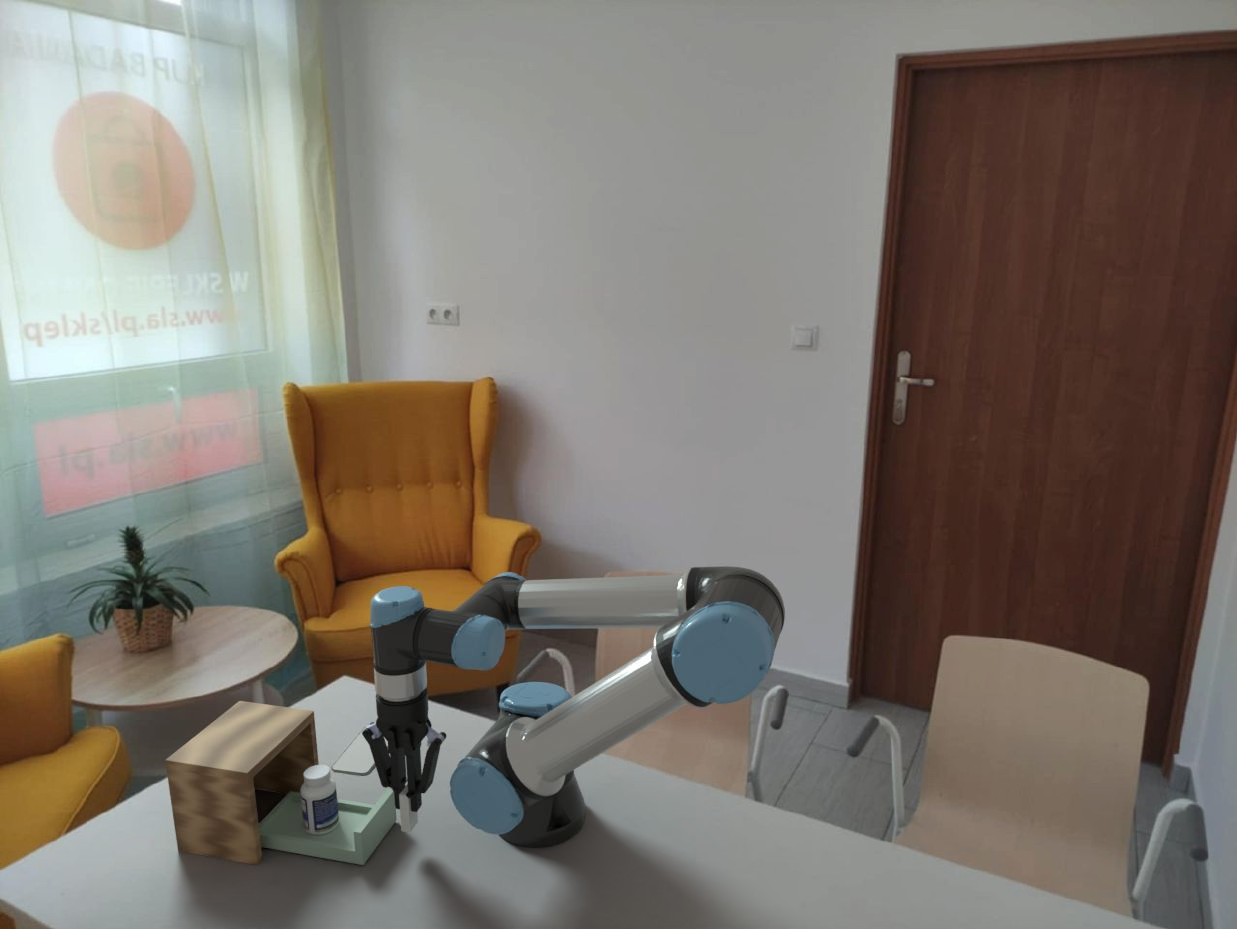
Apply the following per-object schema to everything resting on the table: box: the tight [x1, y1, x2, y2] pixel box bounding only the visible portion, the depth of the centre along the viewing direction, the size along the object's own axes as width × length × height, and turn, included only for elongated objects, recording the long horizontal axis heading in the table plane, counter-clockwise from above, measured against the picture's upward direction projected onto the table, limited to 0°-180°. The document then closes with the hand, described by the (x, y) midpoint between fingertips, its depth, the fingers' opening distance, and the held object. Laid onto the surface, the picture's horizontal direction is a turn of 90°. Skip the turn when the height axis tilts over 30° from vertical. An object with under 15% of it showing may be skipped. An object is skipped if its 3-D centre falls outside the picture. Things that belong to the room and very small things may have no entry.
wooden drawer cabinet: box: [164, 700, 320, 866], centre depth 145 cm, size 14×18×16 cm
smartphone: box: [331, 723, 388, 776], centre depth 167 cm, size 7×1×15 cm
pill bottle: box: [300, 764, 339, 835], centre depth 143 cm, size 5×5×10 cm
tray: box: [258, 788, 397, 866], centre depth 144 cm, size 19×11×6 cm, turn 77°
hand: (409, 826), depth 140 cm, fingers closed
